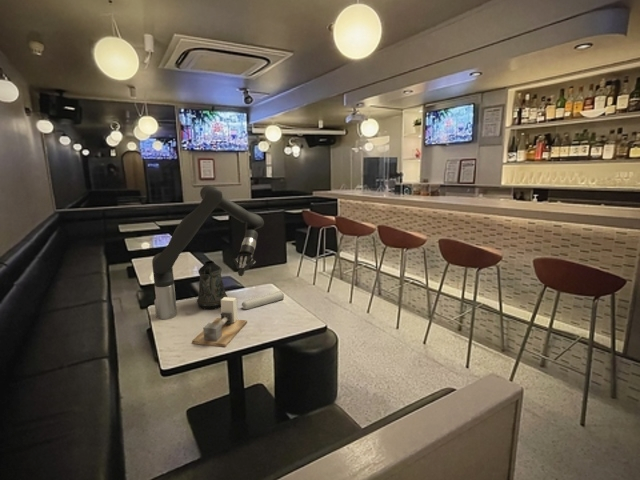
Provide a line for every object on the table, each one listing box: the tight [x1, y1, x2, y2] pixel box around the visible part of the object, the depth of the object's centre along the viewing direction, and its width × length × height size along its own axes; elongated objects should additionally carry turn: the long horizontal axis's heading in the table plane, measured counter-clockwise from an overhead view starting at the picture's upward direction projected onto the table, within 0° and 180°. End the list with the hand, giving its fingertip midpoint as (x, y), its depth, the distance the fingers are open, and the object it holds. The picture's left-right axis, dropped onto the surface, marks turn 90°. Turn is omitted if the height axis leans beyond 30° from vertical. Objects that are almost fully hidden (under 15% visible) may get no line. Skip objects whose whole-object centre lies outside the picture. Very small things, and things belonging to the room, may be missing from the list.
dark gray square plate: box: [220, 313, 232, 324], centre depth 172 cm, size 5×1×5 cm, turn 79°
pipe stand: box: [191, 316, 248, 348], centre depth 166 cm, size 16×24×7 cm, turn 169°
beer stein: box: [196, 260, 228, 311], centre depth 196 cm, size 16×19×25 cm
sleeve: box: [220, 296, 239, 322], centre depth 175 cm, size 6×4×11 cm, turn 79°
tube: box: [241, 290, 285, 311], centre depth 200 cm, size 5×5×25 cm
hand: (240, 275), depth 187 cm, fingers closed
